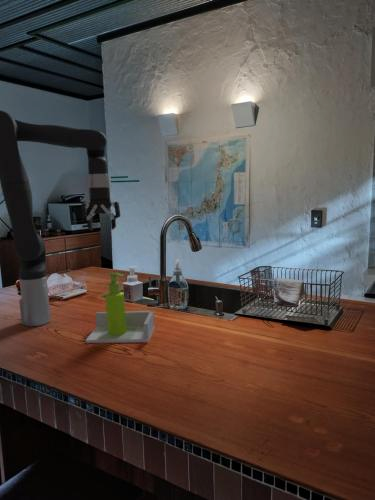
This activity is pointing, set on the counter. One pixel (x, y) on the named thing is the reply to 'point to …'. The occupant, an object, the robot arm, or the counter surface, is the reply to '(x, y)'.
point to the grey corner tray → (136, 328)
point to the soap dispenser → (115, 307)
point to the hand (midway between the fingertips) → (102, 229)
